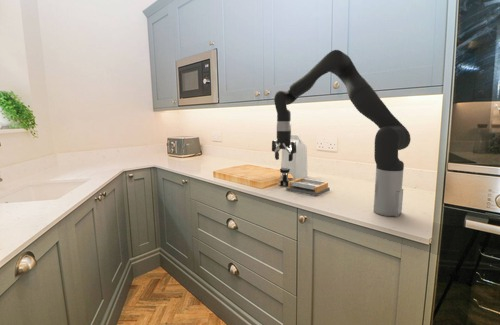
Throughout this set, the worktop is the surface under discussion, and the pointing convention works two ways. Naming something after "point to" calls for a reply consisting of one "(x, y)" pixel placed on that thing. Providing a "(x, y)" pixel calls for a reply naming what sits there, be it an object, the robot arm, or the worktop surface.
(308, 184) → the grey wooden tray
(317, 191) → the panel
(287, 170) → the dark piece
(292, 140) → the milk
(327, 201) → the worktop surface
